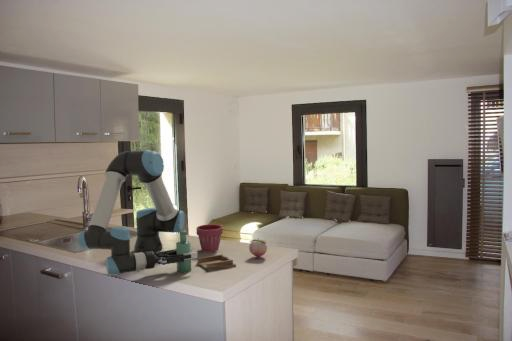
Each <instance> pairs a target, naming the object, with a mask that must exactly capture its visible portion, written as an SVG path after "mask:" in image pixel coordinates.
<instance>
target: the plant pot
mask: <svg viewBox="0 0 512 341" xmlns="http://www.w3.org/2000/svg"><path fill="white" fill-rule="evenodd" d="M223 230H224V229H223V226H222V225H221V224H220V225H219V224H211V223H210V224H201V225H199V226H197V227H196V235H197V236H198V240H199V244H200V248H201V251H202V252H204V251H205V252H206V253H213V251H214V252H217V251H218V250H219V247H220V243H221V237H222V235H223V232H224V231H223ZM205 252H204V253H205Z"/></svg>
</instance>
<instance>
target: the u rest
mask: <svg viewBox="0 0 512 341" xmlns="http://www.w3.org/2000/svg"><path fill="white" fill-rule="evenodd" d="M196 264H197V265H198V266H199V267H200V268H202V269H204V270H205V271H207V272H214V271H218V270H223V269H225V270H226V269H231V268H236V267H237V264H236V263H234V259H232V258H230V257H228V256H226V255H224V254H223V253H221V254H217V255H216V254H215V255H209V256H203V257H198V258H197V262H196Z"/></svg>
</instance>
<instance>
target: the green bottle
mask: <svg viewBox="0 0 512 341" xmlns="http://www.w3.org/2000/svg"><path fill="white" fill-rule="evenodd" d="M187 232H188V230H185V229H184V230H183V229H182V230H181V231H179V232H178V234H179V241H177V242H176V243H175V245H176V246H175V247H176V248H175V249H176V253H177V255H182V254H185V253H191V249H192V247H191V241H188V240H187ZM191 271H192V259H187V260H184V262H178V263H176V272H177V273H179V274H185V273H186V274H187V273H190V272H191Z"/></svg>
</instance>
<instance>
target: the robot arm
mask: <svg viewBox="0 0 512 341" xmlns="http://www.w3.org/2000/svg"><path fill="white" fill-rule="evenodd" d="M164 163H165V162H164V158H163V157H162V155H161V153H159V152H158V151H155V150H150V149H149V150H125V151H123V152H122V151H121V152H120V153H118V155H116V156H115V157H114V158H113V159H112V160H111V161H110V163H109V165H108V166H107V167H106V170H105V172H104V177H105V180H104V183H103V186H102V188H101V191H100V194H99V196H98V199H97V202H96V205H95V208H94V211H93V213H92V216H91V219H90V222H89V225H88V227H87V229H86V230H82V231H81V232H80V233H79V234H78V237H77V243H78V245H79V247H80V248H82V249H87V250H88V249H89V250H110V253H111V254H110V256H107V257H106V259H105V266H106V267H105V268H106V272H107V274H108V275H110V276H111V275H121V274H126V273H130V272H131V273H132V272H138V273H139V272H140V271H144V270H150V269H154V268H155V266H156V264H158V265H163V266H164V265H165V266H166V265H170V264H177V263H178V262H184V260H187V259H191V260H192V259H198V258H199V257H198V251H193V248H191V253H185V254H182V255H177V253H176V248H175V249H169V250H164V251H162V250H163V249H164V248H163V243H162V241H161V237H160V235H159V234H160V233H171V234H172V233H179V231H181V230H183V229H184V226H185V221H186V215H185V212H184V211H183V210H179V209H178V207H177V206H176V205H175V204H173V202H172V200H171V198H170V195H169V193H168V190H167V188H166V186H165V184H164V181H163V178H162V175H163V173H164V169H165V164H164ZM128 176H137V178H138V180H139V182H140V183H142V184H144V186H145V188H146V190H147V192H148V194H149V197H150V199H151V201H152V203H153V206H154V207H148V208H143V209H140V210H137V211H136V215H135V216H136V218H135V220H136V221H135V222H136V240H135V243H134V247H133V252H134V253H131V246H130V244H131V242H130V239H131V237H130V230H129V228H128V227H127V226H115V227H111V228H110V231H107V229H108V226H109V223H110V221H111V217H112V215H113V212H114V208H115V205H116V203H117V200H118V197H119V194H120V191H121V187H122V185H123V183H124V182H126V179H127V177H128Z"/></svg>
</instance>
